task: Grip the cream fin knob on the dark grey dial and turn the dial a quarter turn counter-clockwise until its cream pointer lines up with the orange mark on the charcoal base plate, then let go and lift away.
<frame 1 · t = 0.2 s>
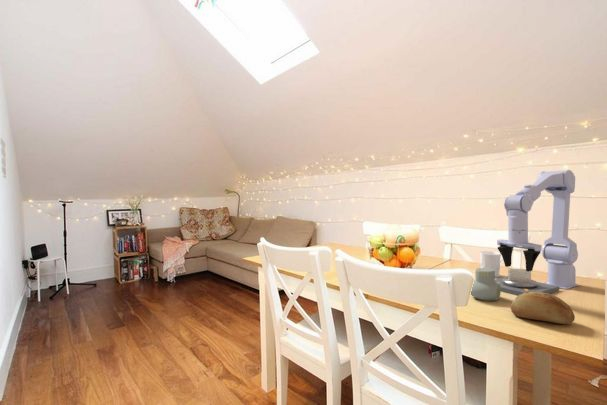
hand: (518, 268, 116), 10 cm above the table, tool pointing down, fingers open, 7 cm apart
dial base: (519, 288, 125), on the table
air freshener: (485, 298, 115), on the table
white cup: (490, 276, 145), on the table
dial: (519, 276, 125), point 5 cm above the table, hinge at 0.0°
bread roll: (541, 321, 95), on the table
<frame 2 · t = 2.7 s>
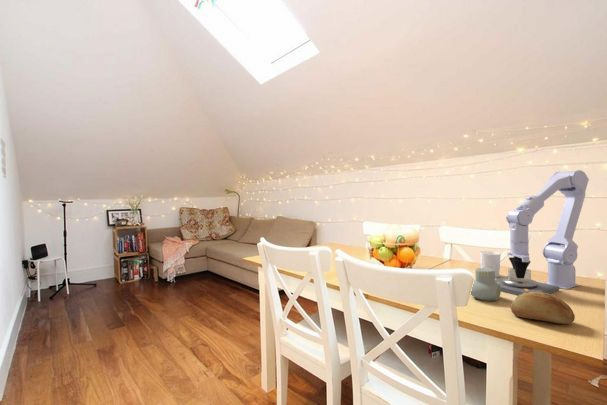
hand: (519, 277, 125), 4 cm above the table, tool pointing down, fingers closed on dial, 2 cm apart
dial: (519, 276, 125), point 5 cm above the table, hinge at 0.0°, touching gripper
everything else where it was.
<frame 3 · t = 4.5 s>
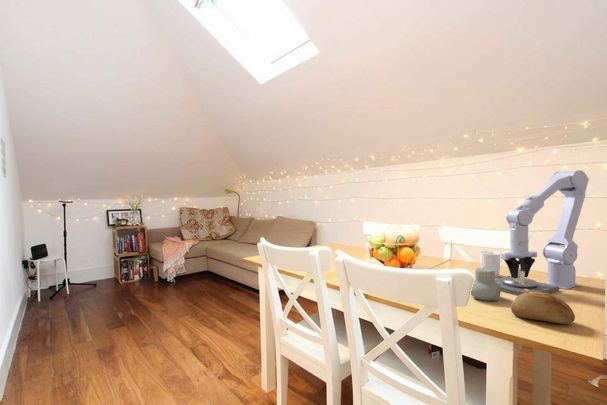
hand: (519, 277, 125), 4 cm above the table, tool pointing down, fingers closed on dial, 4 cm apart
dial: (519, 276, 125), point 5 cm above the table, hinge at 87.2°, touching gripper
everything else where it was.
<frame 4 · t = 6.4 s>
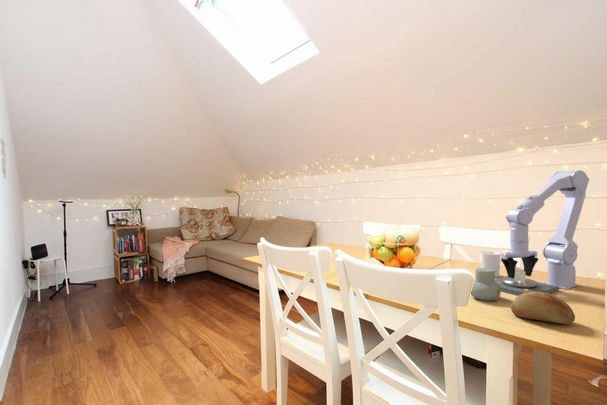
hand: (519, 276, 125), 4 cm above the table, tool pointing down, fingers open, 7 cm apart
dial: (519, 276, 125), point 5 cm above the table, hinge at 91.6°
everything else where it was.
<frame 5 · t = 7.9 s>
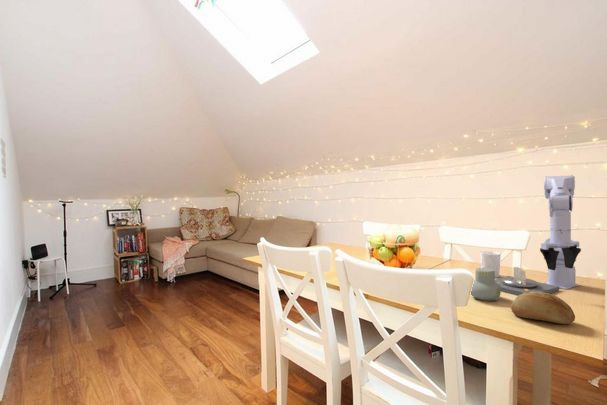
hand: (560, 268, 116), 9 cm above the table, tool pointing down, fingers open, 7 cm apart
nothing on the table moved.
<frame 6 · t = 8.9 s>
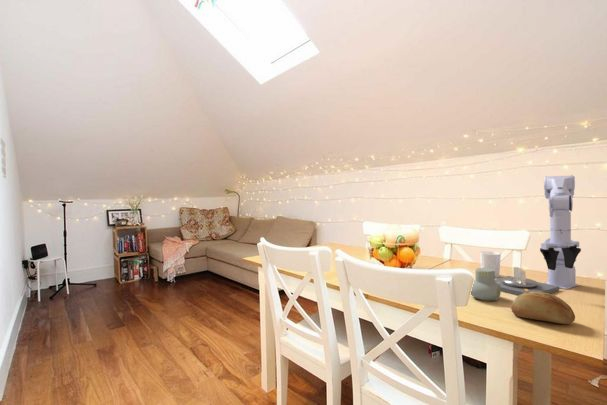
hand: (560, 268, 116), 9 cm above the table, tool pointing down, fingers open, 7 cm apart
nothing on the table moved.
at the end: dial at +92° (first picture: +0°); the gripper is holding nothing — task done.
